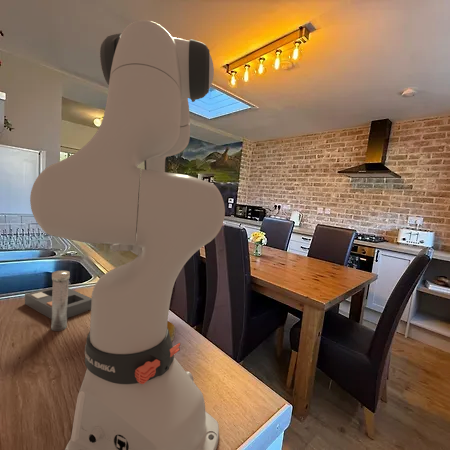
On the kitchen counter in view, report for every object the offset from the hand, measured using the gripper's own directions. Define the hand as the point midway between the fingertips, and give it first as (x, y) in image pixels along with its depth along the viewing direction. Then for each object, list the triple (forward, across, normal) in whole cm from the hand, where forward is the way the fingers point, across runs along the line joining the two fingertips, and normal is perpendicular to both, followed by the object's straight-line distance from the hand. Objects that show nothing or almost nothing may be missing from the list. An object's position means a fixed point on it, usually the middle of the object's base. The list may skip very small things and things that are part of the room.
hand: (102, 242), depth 68 cm
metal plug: (+11, +1, +20) cm, 23 cm away
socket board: (+8, -10, +22) cm, 25 cm away
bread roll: (-4, +20, +20) cm, 29 cm away
